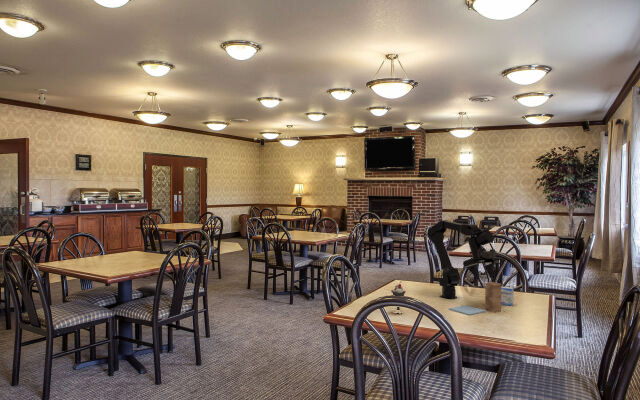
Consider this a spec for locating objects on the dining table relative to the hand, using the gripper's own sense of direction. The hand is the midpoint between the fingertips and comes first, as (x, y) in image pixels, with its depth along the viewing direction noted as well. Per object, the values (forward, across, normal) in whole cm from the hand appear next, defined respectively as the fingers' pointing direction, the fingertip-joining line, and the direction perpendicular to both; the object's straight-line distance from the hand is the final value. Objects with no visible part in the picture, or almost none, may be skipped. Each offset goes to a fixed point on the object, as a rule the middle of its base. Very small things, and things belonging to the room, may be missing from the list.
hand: (485, 278), depth 225 cm
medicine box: (+13, +14, +6) cm, 20 cm away
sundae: (+9, -44, +16) cm, 48 cm away
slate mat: (+13, -13, +5) cm, 19 cm away
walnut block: (+15, -1, 0) cm, 15 cm away
